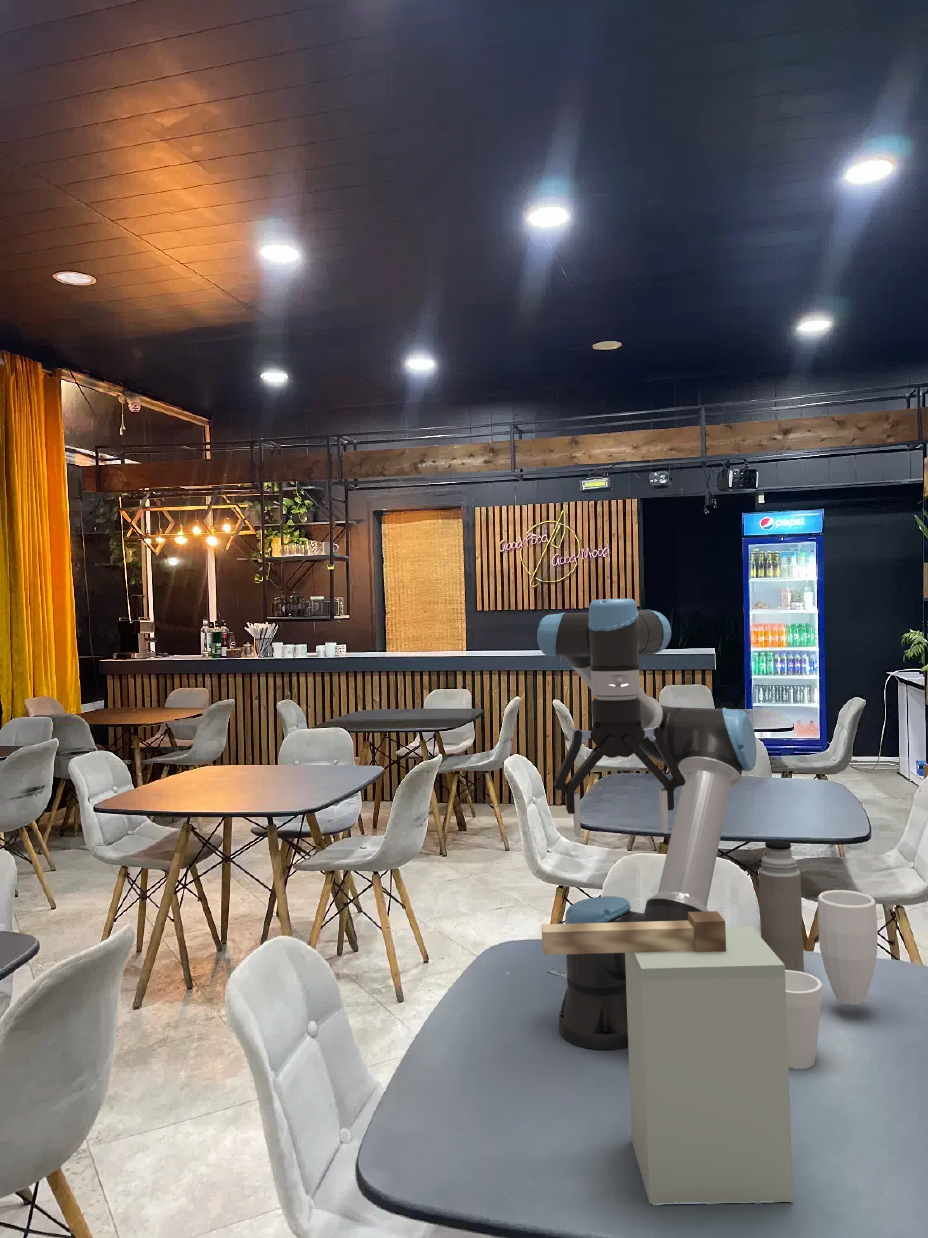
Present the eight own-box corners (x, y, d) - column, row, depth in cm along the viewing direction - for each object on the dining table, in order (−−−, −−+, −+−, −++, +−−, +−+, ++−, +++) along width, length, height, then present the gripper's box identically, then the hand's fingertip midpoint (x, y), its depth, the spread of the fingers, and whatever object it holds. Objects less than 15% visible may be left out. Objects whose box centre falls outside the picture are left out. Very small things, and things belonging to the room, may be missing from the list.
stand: (649, 1205, 113) (641, 968, 113) (631, 1141, 127) (624, 930, 127) (793, 1203, 112) (784, 965, 112) (759, 1138, 126) (751, 926, 126)
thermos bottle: (796, 973, 183) (791, 836, 183) (810, 989, 175) (805, 846, 175) (757, 974, 183) (752, 838, 183) (769, 990, 175) (764, 848, 175)
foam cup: (829, 1076, 143) (826, 994, 143) (768, 1072, 144) (766, 991, 144) (818, 1047, 152) (815, 971, 152) (761, 1044, 154) (758, 968, 154)
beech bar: (718, 940, 122) (717, 911, 122) (726, 951, 118) (725, 921, 118) (542, 945, 122) (541, 916, 122) (544, 956, 118) (542, 926, 118)
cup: (852, 1033, 156) (847, 910, 156) (807, 1010, 166) (803, 894, 166) (895, 1020, 161) (890, 901, 161) (849, 999, 170) (845, 886, 170)
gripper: (537, 702, 136) (543, 841, 136) (701, 696, 136) (706, 835, 136) (534, 697, 143) (539, 829, 143) (689, 692, 143) (694, 824, 143)
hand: (620, 833), depth 140 cm, fingers open, 13 cm apart
